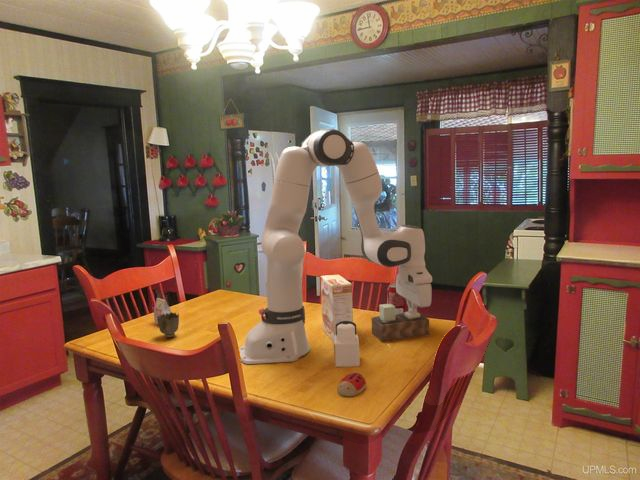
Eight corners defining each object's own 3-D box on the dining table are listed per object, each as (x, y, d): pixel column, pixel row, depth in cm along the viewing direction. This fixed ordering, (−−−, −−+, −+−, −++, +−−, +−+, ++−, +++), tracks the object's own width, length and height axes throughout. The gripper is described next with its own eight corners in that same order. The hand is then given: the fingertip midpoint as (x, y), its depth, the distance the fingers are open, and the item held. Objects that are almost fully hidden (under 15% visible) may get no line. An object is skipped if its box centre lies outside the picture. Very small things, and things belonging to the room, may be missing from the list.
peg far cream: (409, 331, 161) (409, 315, 160) (404, 328, 165) (404, 312, 164) (420, 330, 162) (420, 314, 161) (415, 326, 166) (415, 310, 165)
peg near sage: (384, 324, 159) (383, 308, 158) (379, 321, 162) (379, 304, 161) (395, 323, 159) (395, 306, 159) (390, 319, 163) (390, 303, 162)
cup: (154, 337, 169) (152, 316, 168) (173, 332, 174) (171, 310, 173) (165, 342, 164) (163, 319, 163) (184, 336, 169) (182, 314, 168)
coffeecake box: (322, 329, 171) (319, 275, 168) (341, 326, 173) (339, 273, 170) (333, 343, 157) (331, 285, 154) (354, 341, 158) (352, 283, 155)
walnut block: (381, 341, 156) (381, 324, 155) (371, 333, 165) (371, 316, 164) (429, 335, 160) (429, 318, 160) (417, 327, 169) (417, 310, 168)
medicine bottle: (334, 357, 145) (333, 319, 143) (358, 357, 145) (357, 318, 143) (334, 367, 138) (333, 327, 136) (359, 366, 138) (358, 326, 136)
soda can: (405, 318, 179) (405, 287, 177) (387, 318, 180) (386, 287, 178) (405, 313, 185) (405, 282, 183) (388, 312, 187) (387, 282, 185)
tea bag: (163, 321, 187) (161, 296, 186) (172, 325, 183) (170, 299, 181) (154, 323, 185) (152, 298, 183) (163, 327, 180) (160, 301, 179)
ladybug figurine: (332, 395, 122) (331, 382, 121) (348, 379, 130) (347, 367, 130) (356, 400, 119) (356, 387, 118) (371, 384, 127) (371, 371, 127)
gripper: (391, 267, 170) (391, 305, 172) (416, 280, 150) (417, 323, 152) (407, 266, 171) (408, 303, 174) (435, 278, 152) (435, 320, 154)
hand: (412, 312), depth 163 cm, fingers closed, pressing on peg far cream
